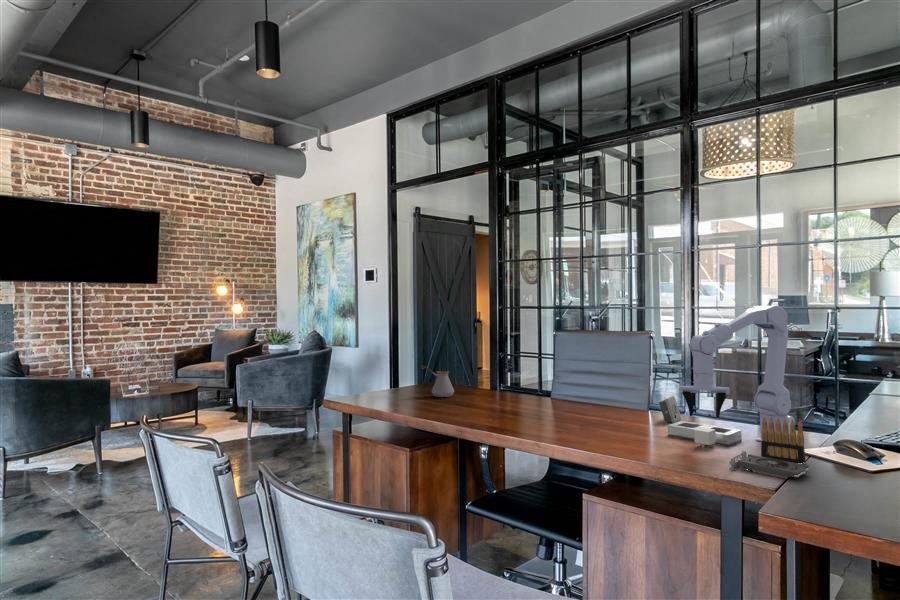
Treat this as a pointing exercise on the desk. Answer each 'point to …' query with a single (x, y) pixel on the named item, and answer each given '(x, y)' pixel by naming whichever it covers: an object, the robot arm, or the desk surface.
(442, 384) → the coffee pot
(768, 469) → the graphics card
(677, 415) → the electrical switch
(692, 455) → the desk surface
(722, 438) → the socket plate
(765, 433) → the ammunition clip
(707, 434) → the plug
